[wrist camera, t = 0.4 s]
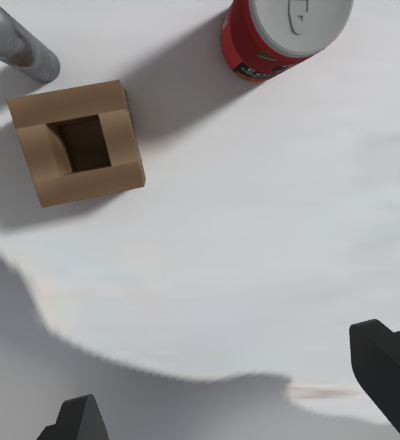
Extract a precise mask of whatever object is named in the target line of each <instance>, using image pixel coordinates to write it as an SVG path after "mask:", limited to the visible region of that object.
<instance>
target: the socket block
mask: <svg viewBox="0 0 400 440" xmlns="http://www.w3.org/2000/svg"><path fill="white" fill-rule="evenodd" d="M6 101H7V104H8V107H9V110H10V113H11V116H12V119H13V122H14V125H15V128H16V131H17V134H18V137H19V140H20V143H21V146H22V149H23V152H24V155H25V158H26V161H27V164H28V167H29V170H30V173H31V176H32V179H33V182H34V185H35V188H36V191H37V194H38V197H39V200H40V203H41V206H42V208H43V207H48V206H53V205H57V204H62V203H67V202H72V201H77V200H82V199H87V198H92V197H96V196H101V195H106V194H111V193H116V192H121V191H126V190H131V189H135V188H140V187H144V185H145V180H146V178H145V173H144V169H143V165H142V160H141V156H140V152H139V148H138V143H137V139H136V135H135V130H134V126H133V122H132V117H131V113H130V109H129V105H128V100H127V96H126V92H125V90H124V88H123V86H122V85H121V83H120V81H119V80H115V81H109V82H104V83H98V84H92V85H86V86H81V87H75V88H69V89H63V90H57V91H52V92H46V93H40V94H34V95H29V96H23V97H17V98H11V99H6Z"/></svg>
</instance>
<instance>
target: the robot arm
mask: <svg viewBox="0 0 400 440" xmlns="http://www.w3.org/2000/svg"><path fill="white" fill-rule="evenodd" d="M349 334H350V350H351V364H352V369H353V372H354V375H355V377H356V379H357V381H358V383H359V384H360V386H361V387H362V388H363V390H364V391H365V392H366V393H367V394H368V396H369V397H370V398H371V399H372V400H373V402H374V403H375V404H376V405H377V407H378V408H379V409H380V410H381V411H382V413H383V414H384V415H385V416H386V417H387V419H388V420H389V421H390V422H391V424H392V425H393V426H394V427H395V428H396V429H397V431H398V432H399V433H400V331H398V332H394V333H393V332H392V331H391V330H390V329H389V328H387V327H386V326H385V325H384V324H382V323H381V322H380V321H379V320H377V319H372V320H368V321H364V322H361V323H357V324H353V325H351V326H350V329H349ZM37 440H109V438H108V433H107V430H106V427H105V425H104V422H103V419H102V416H101V414H100V411H99V408H98V406H97V403H96V400H95V398H94V396H93V395H92V394H88V395H85V396H81V397H77V398H74V399H70V400H66V401H64V402H63V404H62V406H61V409H60V412H59V415H58V418H57V421H56V424H54V425H50V426H47V427H45V429H44V430H43V431H42V433H41V434H40V436H39V437H38V438H37Z"/></svg>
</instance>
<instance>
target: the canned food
mask: <svg viewBox="0 0 400 440" xmlns="http://www.w3.org/2000/svg"><path fill="white" fill-rule="evenodd" d="M352 6H353V0H234V1H233V3H232V4H231V6H230V8H229V10H228V12H227V14H226V16H225V18H224V21H223V25H222V28H221V47H222V51H223V55H224V57H225V59H226V62H227V63H228V65H229V66H230V68H231V69H232V70H233V71H234V72H235V73H236V74H237V75H239V76H240V77H242V78H244V79H247V80H249V81H256V82H258V81H265V80H268V79H271V78H273V77H274V76H276V75H278V74H280V73H282V72H284V71H286V70H288V69H290V68H291V67H293V66H295V65H297V64H299V63H301V62H303V61H305V60H306V59H308V58H310V57H312V56H313V55H315V54H317V53H318V52H320V51H322V50H323V49H325V48H326V47H327V46H328V45H330V44H331V43H332V42H333V41H334V40H335V39H336V38H337V37H338V35H339V34H340V33H341V31H342V30H343V29H344V27H345V25H346V23H347V21H348V19H349V16H350V13H351V10H352Z"/></svg>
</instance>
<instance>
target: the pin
mask: <svg viewBox="0 0 400 440" xmlns="http://www.w3.org/2000/svg"><path fill="white" fill-rule="evenodd" d="M0 61H2V62H4V63H6V64H8V65H10V66H11V67H13V68H15V69H17V70H19V71H21V72H23V73H25V74H27V75H29V76H31V77H32V78H34V79H36V80H38V81H41V82H51V81H53V80H55V79H56V78H57V77H58V75H59V72H60V63H59V60H58V58H57V57H56V55H55V54H54V53H53V52H52V51H50V50H49V49H48V48H47V47H46V46H45V45H44V44H42V43H41V42H40V41H39V40H38V39H37V38H36V37H34V36H33V35H32V34H31V33H30V32H29V31H28V30H26V29H25V28H24V27H23V26H22V25H21V24H20V23H18V22H17V21H16V20H15V19H14V18H13V17H12V16H10V15H9V14H8V13H7V12H6V11H5V10H4V9H2V8H1V7H0Z"/></svg>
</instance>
